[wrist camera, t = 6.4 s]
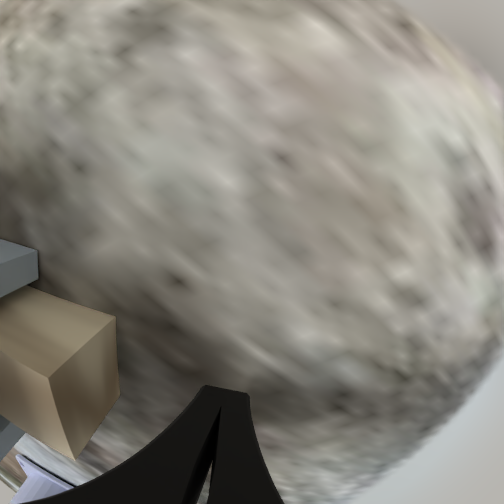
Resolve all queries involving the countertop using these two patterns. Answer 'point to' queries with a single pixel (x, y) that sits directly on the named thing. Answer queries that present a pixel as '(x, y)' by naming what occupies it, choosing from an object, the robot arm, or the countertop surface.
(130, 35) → the countertop surface
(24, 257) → the slate block
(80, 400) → the birch bar
